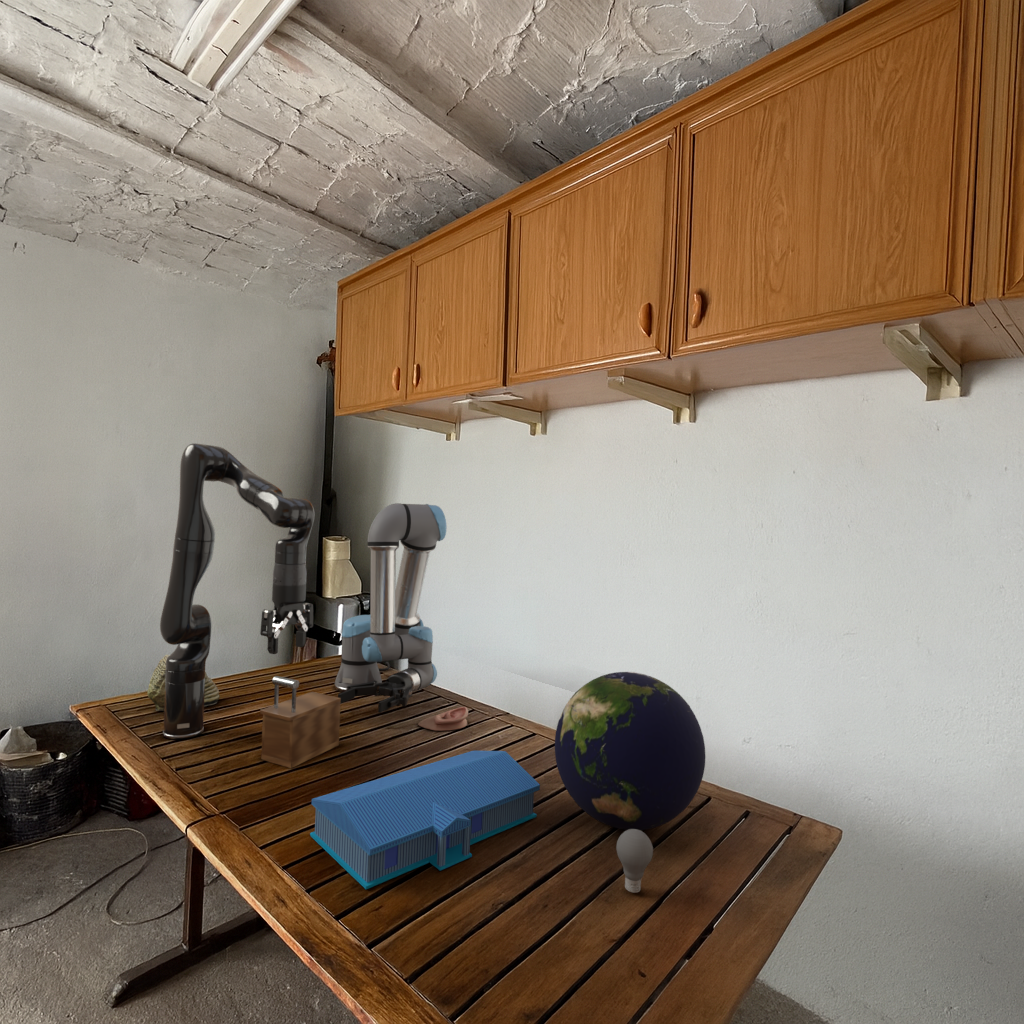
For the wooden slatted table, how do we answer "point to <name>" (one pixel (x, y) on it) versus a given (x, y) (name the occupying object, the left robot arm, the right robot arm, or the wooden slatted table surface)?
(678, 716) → the globe
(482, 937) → the wooden slatted table surface
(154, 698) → the fossil
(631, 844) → the light bulb
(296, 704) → the lid
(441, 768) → the model building
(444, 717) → the anatomical model
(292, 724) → the chest
